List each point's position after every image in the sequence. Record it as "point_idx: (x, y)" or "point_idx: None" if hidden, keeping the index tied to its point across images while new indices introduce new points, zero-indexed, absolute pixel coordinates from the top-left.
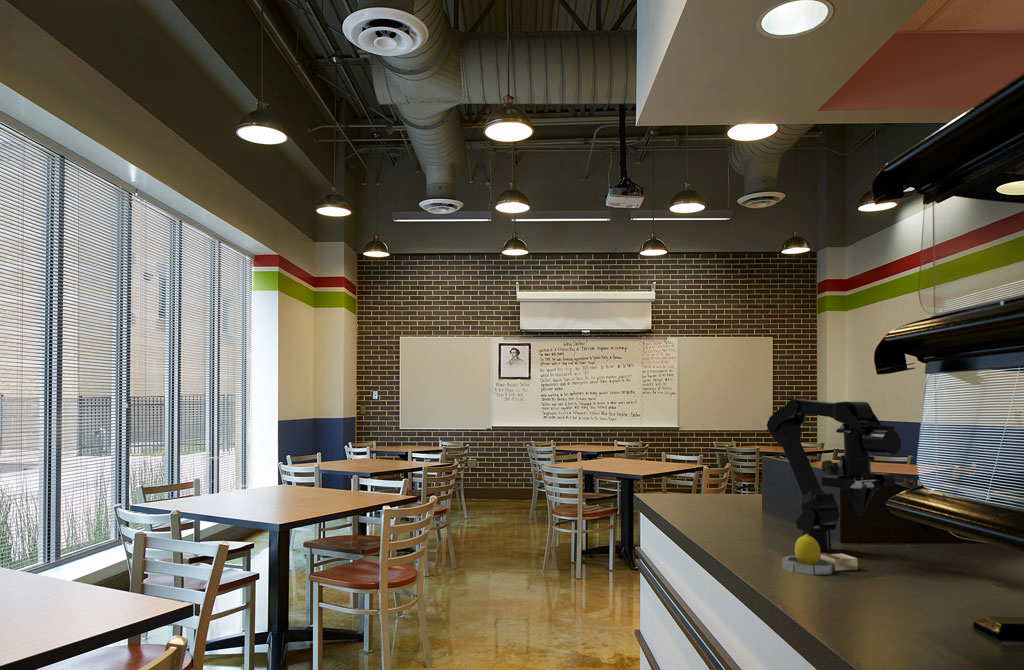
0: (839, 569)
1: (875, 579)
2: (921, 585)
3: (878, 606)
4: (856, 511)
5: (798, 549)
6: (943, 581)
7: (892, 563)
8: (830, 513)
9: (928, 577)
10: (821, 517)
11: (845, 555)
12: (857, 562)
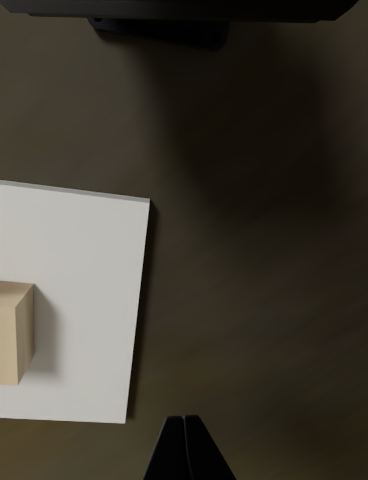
0: None
1: None
2: (128, 465)
3: None
4: (156, 453)
5: None
6: (228, 451)
7: (316, 257)
8: (190, 2)
9: (232, 417)
10: (31, 12)
11: (3, 337)
12: (24, 372)
